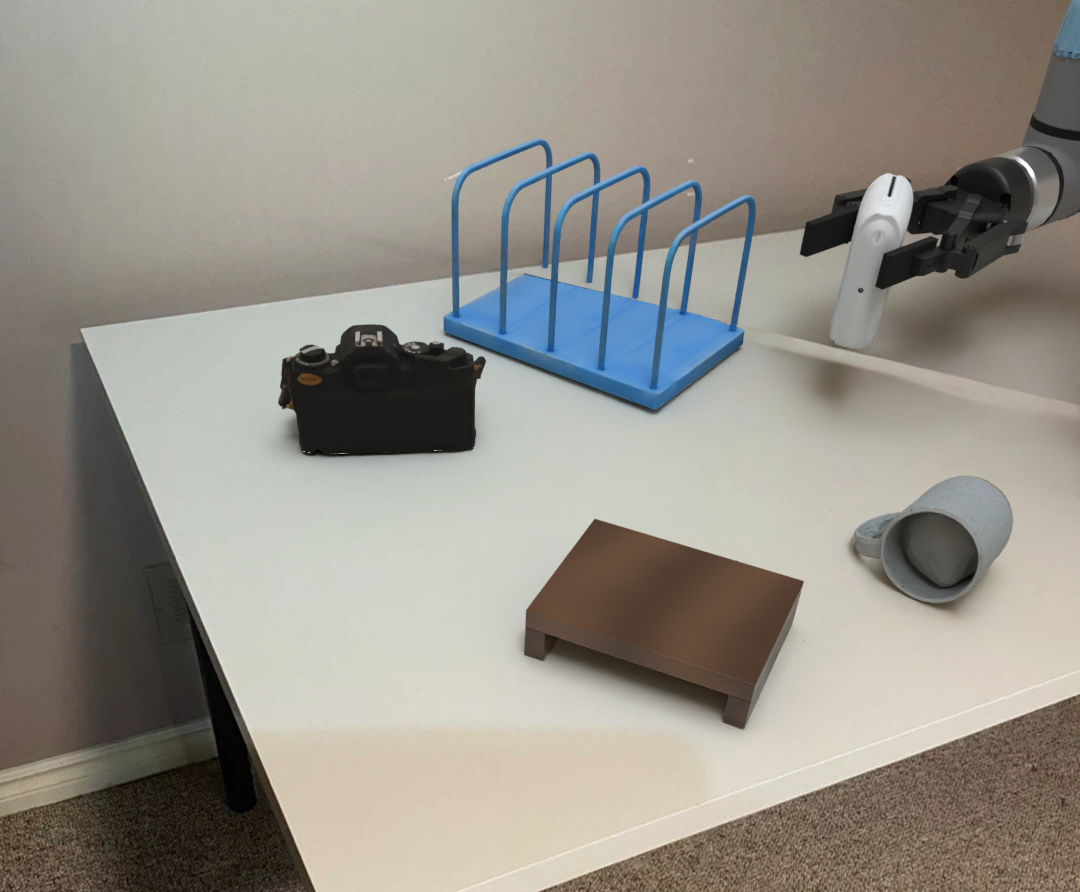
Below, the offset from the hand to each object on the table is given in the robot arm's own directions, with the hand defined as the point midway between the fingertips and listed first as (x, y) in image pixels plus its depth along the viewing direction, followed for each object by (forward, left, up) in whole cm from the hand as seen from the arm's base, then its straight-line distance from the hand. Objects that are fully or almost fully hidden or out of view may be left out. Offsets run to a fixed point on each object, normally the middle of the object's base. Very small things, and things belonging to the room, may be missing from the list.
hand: (843, 255), depth 89 cm
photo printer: (-2, -5, -8) cm, 9 cm away
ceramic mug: (-14, +19, -15) cm, 28 cm away
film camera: (+33, +22, -15) cm, 42 cm away
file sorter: (+23, -3, -15) cm, 27 cm away
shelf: (+1, +37, -15) cm, 39 cm away
